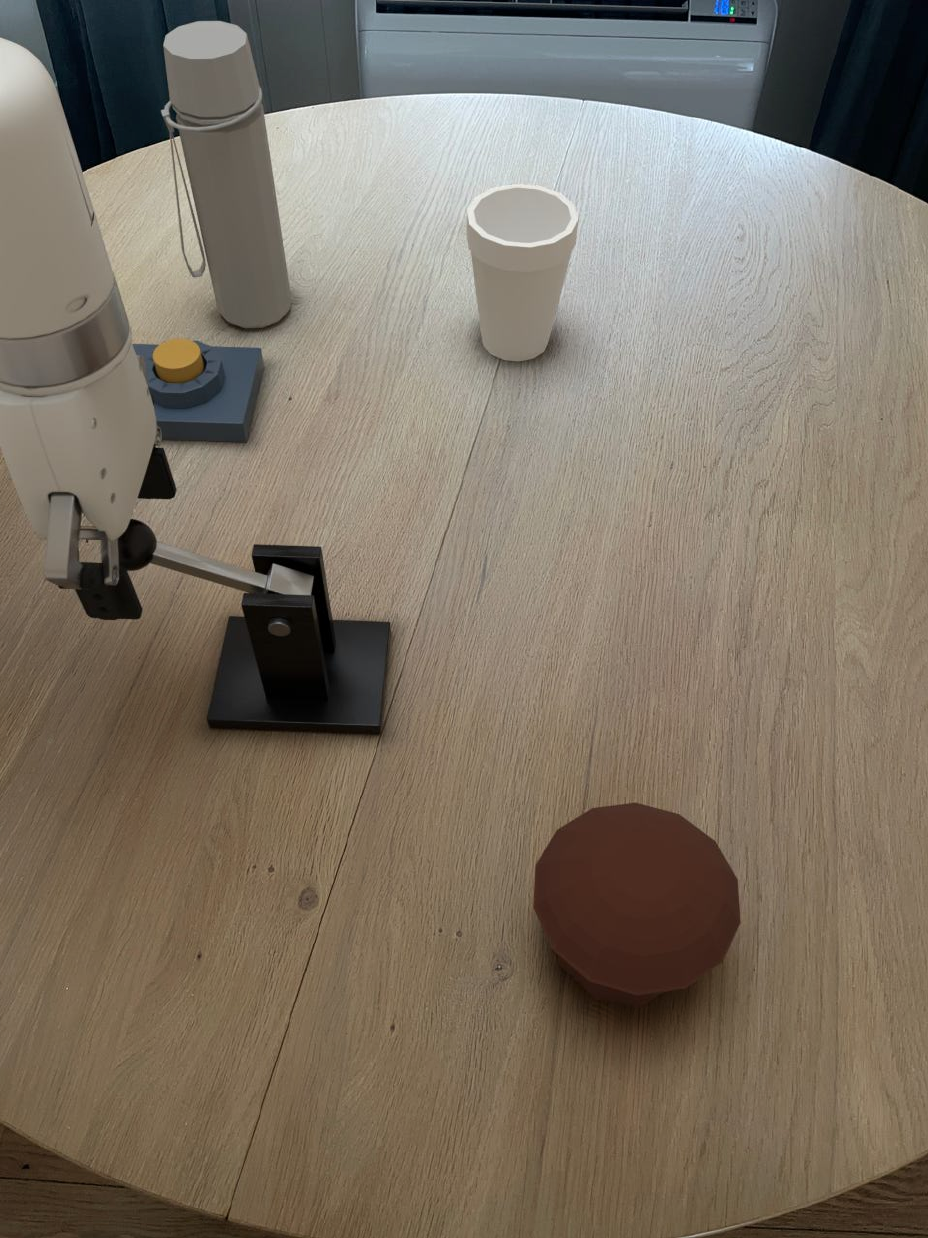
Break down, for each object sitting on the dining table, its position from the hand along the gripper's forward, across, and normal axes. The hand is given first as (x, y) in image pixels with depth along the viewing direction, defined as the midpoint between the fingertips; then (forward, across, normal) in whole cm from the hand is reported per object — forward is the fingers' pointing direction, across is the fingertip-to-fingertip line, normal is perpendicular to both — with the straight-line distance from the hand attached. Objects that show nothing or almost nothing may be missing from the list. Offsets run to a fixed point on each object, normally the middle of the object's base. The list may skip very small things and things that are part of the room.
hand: (135, 552), depth 64 cm
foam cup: (+14, -39, +24) cm, 48 cm away
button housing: (+14, -29, -5) cm, 33 cm away
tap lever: (+3, 0, +4) cm, 5 cm away
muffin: (+14, +18, +31) cm, 38 cm away
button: (+10, -29, -5) cm, 31 cm away
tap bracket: (+14, 0, +9) cm, 16 cm away
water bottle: (+14, -42, -2) cm, 44 cm away
